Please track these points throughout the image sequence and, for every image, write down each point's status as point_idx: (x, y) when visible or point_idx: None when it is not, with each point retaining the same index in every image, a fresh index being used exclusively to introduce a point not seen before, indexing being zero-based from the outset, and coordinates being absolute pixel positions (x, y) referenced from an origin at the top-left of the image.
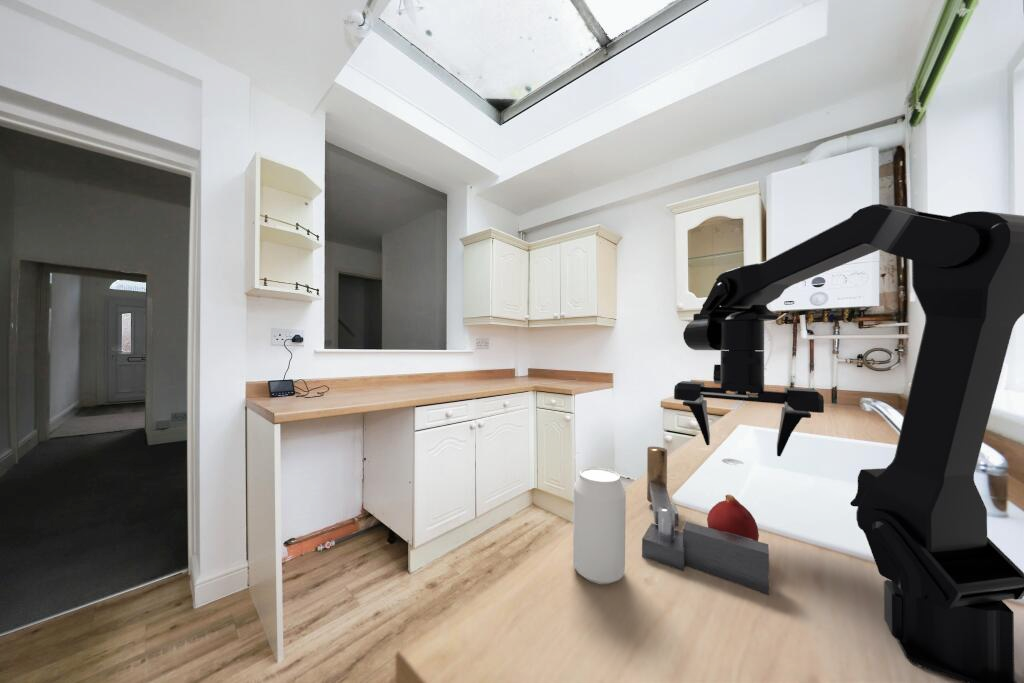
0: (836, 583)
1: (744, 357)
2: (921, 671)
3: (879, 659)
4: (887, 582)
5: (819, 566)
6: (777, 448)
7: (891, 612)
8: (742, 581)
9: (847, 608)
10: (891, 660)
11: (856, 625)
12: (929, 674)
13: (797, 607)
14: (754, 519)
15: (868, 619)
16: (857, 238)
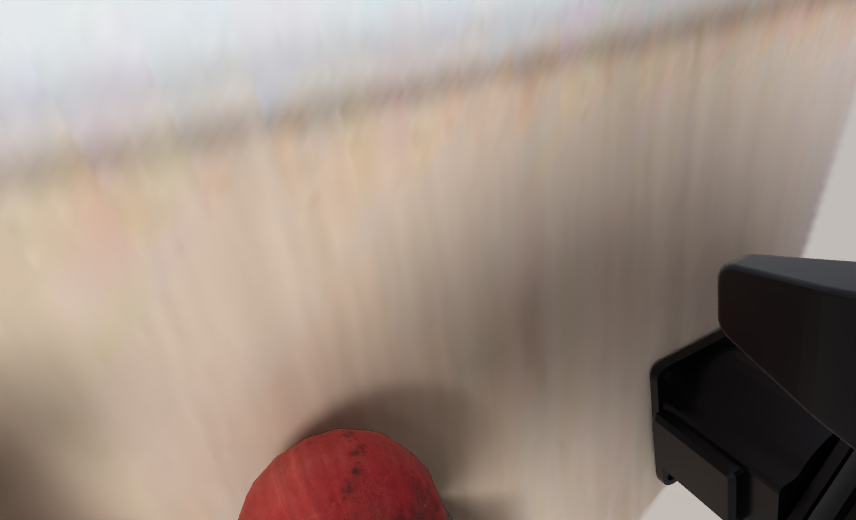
0: (570, 311)
1: None
2: None
3: (620, 514)
4: (733, 488)
5: (532, 248)
6: (795, 400)
7: (692, 490)
8: None
9: (587, 409)
10: (634, 497)
11: (598, 455)
12: None
13: (504, 515)
14: (441, 517)
15: (618, 408)
16: None
